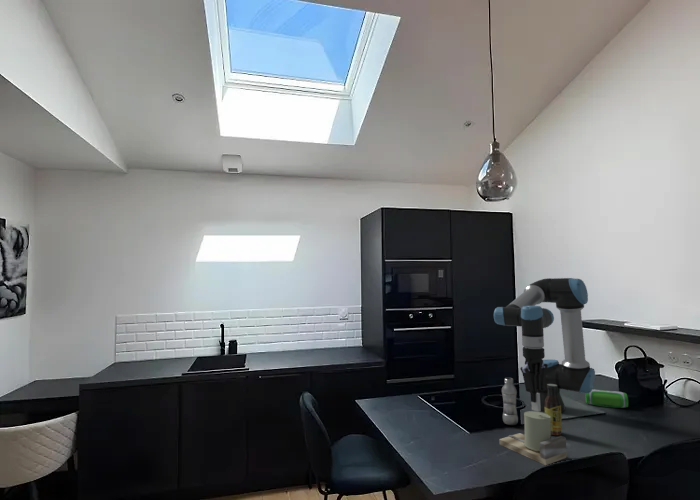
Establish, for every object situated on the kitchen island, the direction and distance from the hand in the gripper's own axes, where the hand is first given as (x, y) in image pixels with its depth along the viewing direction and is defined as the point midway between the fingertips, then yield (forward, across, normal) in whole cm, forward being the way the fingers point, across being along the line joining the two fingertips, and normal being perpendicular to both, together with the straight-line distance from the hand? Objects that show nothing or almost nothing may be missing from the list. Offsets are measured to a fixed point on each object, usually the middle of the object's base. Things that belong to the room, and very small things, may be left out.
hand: (536, 410), depth 150 cm
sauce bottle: (+16, +22, +8) cm, 28 cm away
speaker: (+17, +75, +16) cm, 79 cm away
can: (+14, 0, 0) cm, 14 cm away
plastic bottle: (+16, +15, +24) cm, 33 cm away
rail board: (+16, 0, +2) cm, 16 cm away
